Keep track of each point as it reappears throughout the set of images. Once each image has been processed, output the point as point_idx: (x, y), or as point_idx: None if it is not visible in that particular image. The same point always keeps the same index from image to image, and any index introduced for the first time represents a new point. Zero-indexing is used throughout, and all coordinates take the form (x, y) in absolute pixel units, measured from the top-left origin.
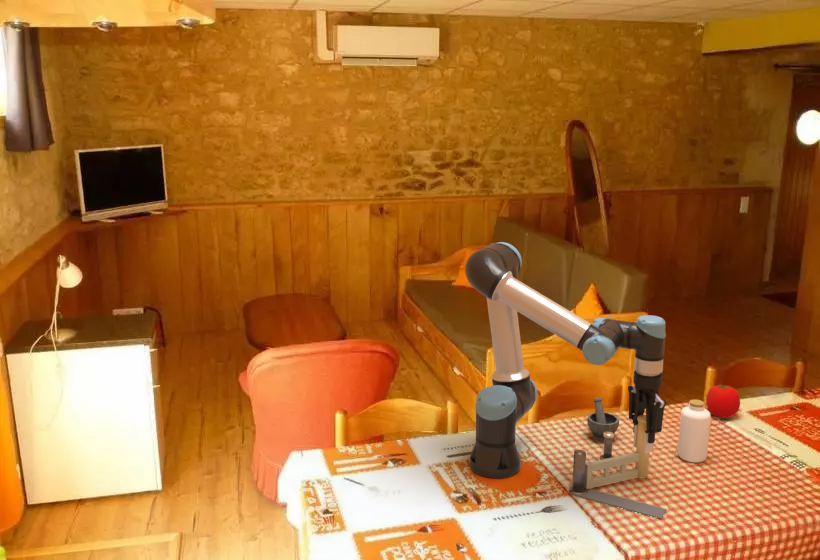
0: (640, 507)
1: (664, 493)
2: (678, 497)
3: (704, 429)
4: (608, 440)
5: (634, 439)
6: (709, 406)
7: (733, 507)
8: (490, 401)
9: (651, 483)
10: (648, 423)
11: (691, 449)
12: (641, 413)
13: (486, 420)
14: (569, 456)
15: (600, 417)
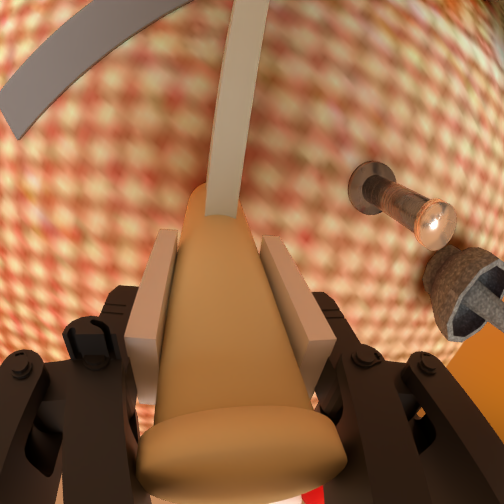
0: (54, 62)
1: (92, 203)
2: (61, 228)
3: None
4: (416, 205)
5: (284, 259)
6: None
7: (10, 313)
8: None
9: (162, 208)
10: (78, 445)
11: None
12: (336, 494)
13: None
14: (442, 104)
15: (486, 300)
